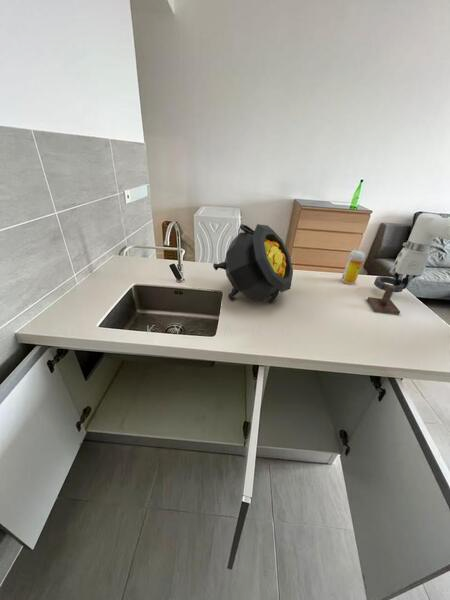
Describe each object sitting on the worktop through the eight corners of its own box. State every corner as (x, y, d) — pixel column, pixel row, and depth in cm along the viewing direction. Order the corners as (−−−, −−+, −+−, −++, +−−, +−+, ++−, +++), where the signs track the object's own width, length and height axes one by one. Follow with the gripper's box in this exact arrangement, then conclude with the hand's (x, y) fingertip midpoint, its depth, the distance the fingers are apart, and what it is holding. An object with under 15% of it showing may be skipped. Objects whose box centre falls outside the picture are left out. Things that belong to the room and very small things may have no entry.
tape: (395, 282, 110) (398, 277, 109) (407, 293, 101) (409, 288, 100) (370, 280, 112) (372, 275, 110) (379, 290, 102) (381, 285, 101)
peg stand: (389, 302, 102) (398, 282, 97) (398, 314, 94) (409, 293, 89) (366, 300, 103) (375, 280, 98) (374, 311, 95) (383, 290, 90)
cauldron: (247, 263, 118) (293, 240, 104) (251, 316, 106) (304, 299, 92) (206, 235, 99) (255, 203, 84) (206, 297, 87) (264, 271, 72)
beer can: (357, 284, 114) (368, 254, 107) (344, 284, 114) (354, 254, 106) (351, 279, 120) (361, 249, 112) (339, 278, 119) (348, 249, 112)
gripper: (400, 247, 94) (382, 289, 104) (444, 251, 92) (423, 293, 102) (391, 242, 101) (376, 281, 110) (433, 245, 99) (414, 285, 108)
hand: (399, 287), depth 106 cm, fingers closed on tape, 2 cm apart
